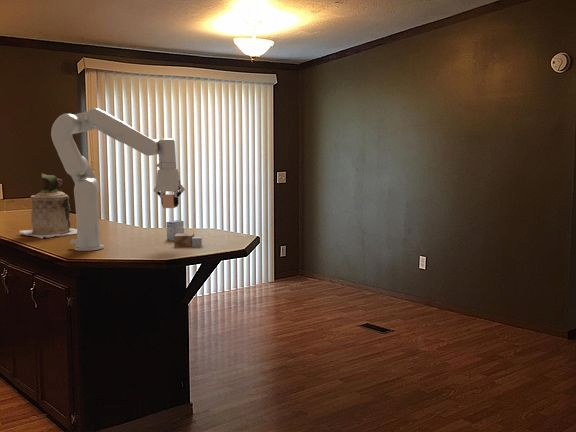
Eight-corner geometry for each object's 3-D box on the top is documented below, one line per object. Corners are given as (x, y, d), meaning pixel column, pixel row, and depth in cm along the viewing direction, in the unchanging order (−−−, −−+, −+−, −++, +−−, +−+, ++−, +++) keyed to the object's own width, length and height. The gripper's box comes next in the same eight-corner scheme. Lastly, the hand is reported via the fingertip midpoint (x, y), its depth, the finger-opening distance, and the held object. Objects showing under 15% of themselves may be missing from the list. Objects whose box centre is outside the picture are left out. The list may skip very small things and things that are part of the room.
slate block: (192, 247, 258) (192, 238, 258) (193, 245, 262) (192, 236, 262) (201, 246, 259) (201, 238, 258) (201, 245, 263) (201, 236, 262)
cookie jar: (42, 239, 287) (38, 175, 283) (17, 235, 302) (13, 174, 298) (86, 233, 307) (83, 173, 303) (60, 229, 321) (56, 172, 318)
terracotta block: (162, 208, 260) (162, 195, 260) (167, 207, 265) (166, 194, 265) (173, 208, 260) (172, 194, 259) (177, 206, 264) (176, 193, 264)
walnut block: (174, 246, 260) (173, 236, 260) (177, 244, 268) (176, 233, 268) (191, 246, 260) (191, 235, 260) (194, 243, 268) (194, 233, 268)
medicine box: (177, 237, 287) (176, 220, 286) (184, 237, 285) (183, 220, 284) (166, 239, 281) (165, 221, 280) (173, 240, 278) (172, 222, 277)
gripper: (146, 167, 258) (149, 207, 260) (182, 166, 255) (185, 206, 257) (153, 166, 265) (155, 205, 268) (188, 165, 262) (190, 205, 265)
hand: (170, 205), depth 262 cm, fingers closed on terracotta block, 5 cm apart
